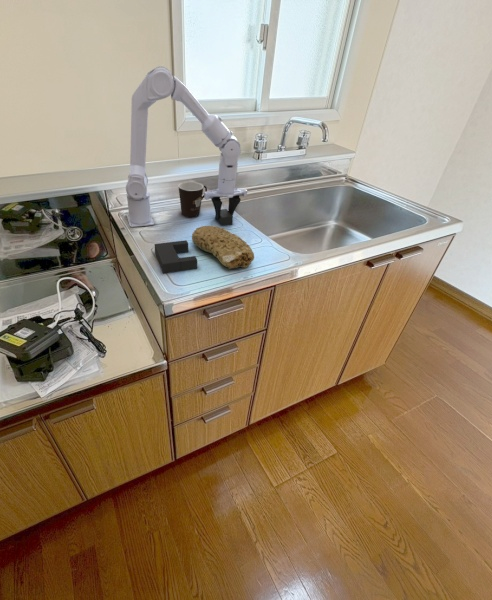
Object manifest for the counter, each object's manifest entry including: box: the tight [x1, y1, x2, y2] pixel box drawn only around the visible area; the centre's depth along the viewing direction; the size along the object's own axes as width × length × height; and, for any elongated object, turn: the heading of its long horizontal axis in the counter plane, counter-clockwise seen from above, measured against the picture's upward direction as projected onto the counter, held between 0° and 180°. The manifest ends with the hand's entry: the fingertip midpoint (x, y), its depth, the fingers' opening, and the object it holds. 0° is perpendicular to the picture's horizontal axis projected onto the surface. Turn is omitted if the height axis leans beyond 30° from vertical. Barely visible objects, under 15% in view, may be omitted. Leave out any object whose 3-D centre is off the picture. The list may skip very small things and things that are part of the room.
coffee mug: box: [178, 181, 208, 219], centre depth 112 cm, size 12×9×10 cm
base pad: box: [154, 239, 198, 274], centre depth 89 cm, size 11×10×3 cm
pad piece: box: [215, 208, 234, 226], centre depth 110 cm, size 6×4×3 cm, turn 18°
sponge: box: [191, 225, 255, 270], centre depth 91 cm, size 13×8×20 cm
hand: (223, 217), depth 110 cm, fingers closed on pad piece, 4 cm apart
